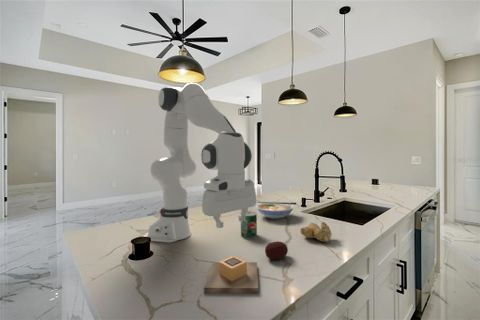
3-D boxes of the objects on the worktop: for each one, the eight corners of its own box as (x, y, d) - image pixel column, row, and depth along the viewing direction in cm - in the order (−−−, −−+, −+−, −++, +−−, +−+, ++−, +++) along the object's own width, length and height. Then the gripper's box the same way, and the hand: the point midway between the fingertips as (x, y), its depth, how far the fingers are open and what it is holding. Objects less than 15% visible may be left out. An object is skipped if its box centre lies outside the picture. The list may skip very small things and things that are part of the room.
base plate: (204, 292, 70) (203, 274, 70) (212, 266, 86) (212, 251, 86) (258, 293, 69) (258, 274, 69) (256, 266, 85) (256, 251, 85)
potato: (260, 257, 93) (260, 242, 92) (280, 251, 98) (280, 236, 98) (272, 265, 86) (272, 248, 86) (293, 258, 92) (293, 242, 91)
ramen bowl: (250, 221, 139) (250, 207, 139) (259, 211, 161) (259, 199, 161) (294, 224, 132) (294, 210, 132) (296, 214, 154) (296, 201, 154)
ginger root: (321, 246, 99) (318, 225, 101) (293, 243, 113) (290, 225, 114) (344, 239, 108) (341, 220, 110) (316, 237, 121) (313, 220, 123)
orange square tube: (231, 281, 73) (231, 268, 73) (219, 273, 78) (219, 261, 78) (246, 273, 77) (246, 261, 77) (233, 267, 82) (233, 255, 82)
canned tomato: (255, 239, 112) (255, 216, 111) (239, 238, 113) (239, 215, 113) (257, 233, 120) (257, 211, 119) (242, 232, 121) (242, 211, 121)
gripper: (247, 178, 86) (247, 216, 86) (199, 183, 72) (199, 228, 73) (260, 179, 81) (260, 219, 82) (211, 186, 67) (211, 234, 68)
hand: (231, 224), depth 77 cm, fingers open, 8 cm apart
